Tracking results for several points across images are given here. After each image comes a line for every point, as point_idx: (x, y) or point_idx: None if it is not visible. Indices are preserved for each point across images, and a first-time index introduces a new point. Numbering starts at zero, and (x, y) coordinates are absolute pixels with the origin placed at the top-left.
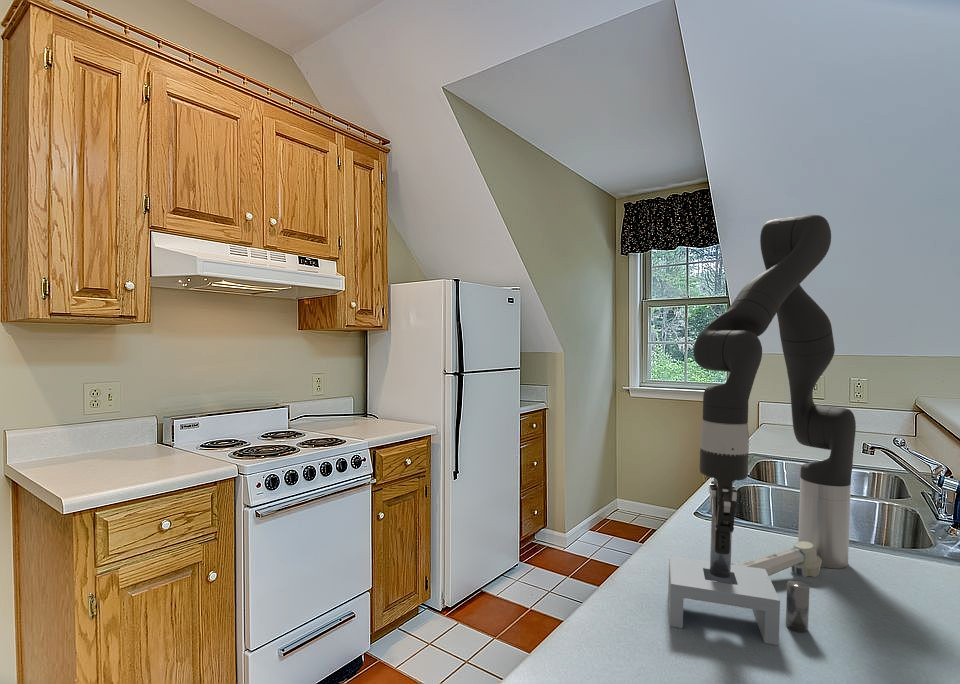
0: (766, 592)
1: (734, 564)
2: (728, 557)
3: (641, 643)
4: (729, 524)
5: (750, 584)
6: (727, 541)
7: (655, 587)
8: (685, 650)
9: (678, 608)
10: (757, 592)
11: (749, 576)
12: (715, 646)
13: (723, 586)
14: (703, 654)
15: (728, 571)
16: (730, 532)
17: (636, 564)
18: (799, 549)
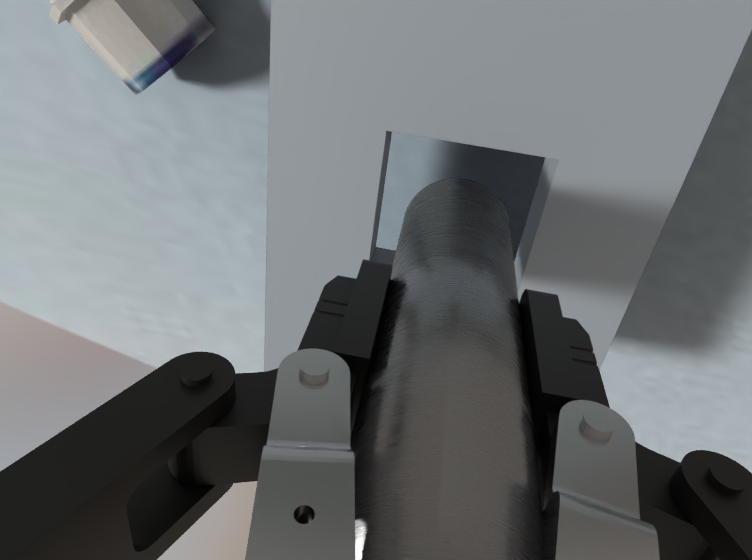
0: (656, 13)
1: (68, 1)
2: (507, 259)
3: (657, 415)
4: (706, 527)
5: (544, 82)
6: (599, 377)
7: None
8: (703, 315)
9: None
10: (657, 75)
11: (425, 50)
12: (682, 218)
13: (584, 241)
14: (732, 270)
15: (500, 214)
16: (600, 408)
17: (109, 335)
18: None
